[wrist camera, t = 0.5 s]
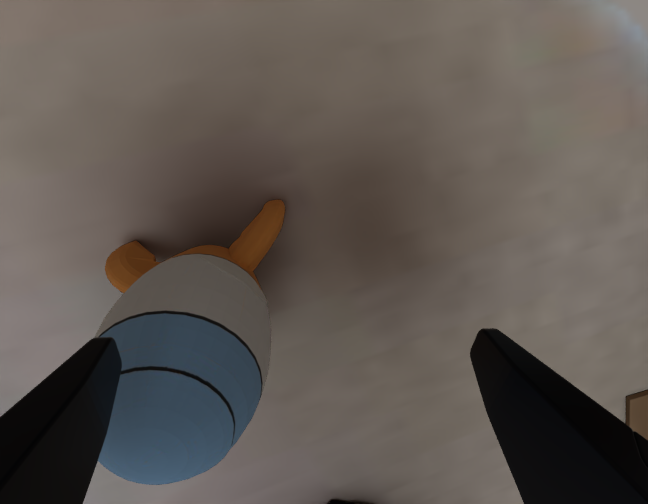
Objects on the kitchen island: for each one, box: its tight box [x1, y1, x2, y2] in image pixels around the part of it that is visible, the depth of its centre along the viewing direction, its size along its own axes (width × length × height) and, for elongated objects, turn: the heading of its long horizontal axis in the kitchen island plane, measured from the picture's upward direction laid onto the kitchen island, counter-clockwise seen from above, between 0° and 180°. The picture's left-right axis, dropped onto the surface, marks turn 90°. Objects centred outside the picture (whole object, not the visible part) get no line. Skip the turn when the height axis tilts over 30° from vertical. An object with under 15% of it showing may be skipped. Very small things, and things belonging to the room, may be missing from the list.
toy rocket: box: [95, 200, 285, 485], centre depth 19 cm, size 10×11×15 cm
